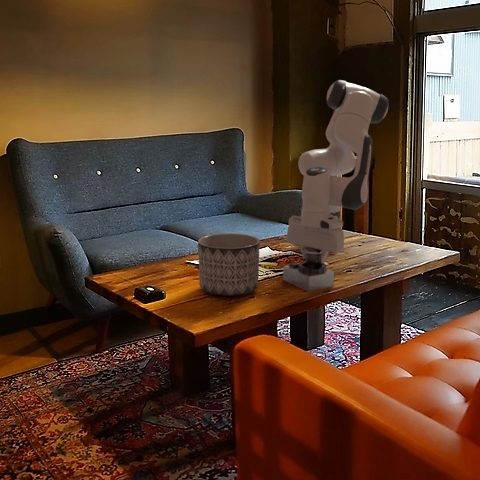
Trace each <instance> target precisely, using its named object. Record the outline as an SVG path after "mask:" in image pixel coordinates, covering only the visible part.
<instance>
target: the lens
mask: <svg viewBox="0 0 480 480" xmlns="http://www.w3.org/2000/svg"><path fill="white" fill-rule="evenodd" d="M322 255H323V253H322V250H319V249H315V248H312V247H306V259H305V261H306V267H308V268H319V267H321V263H319V257H322Z"/></svg>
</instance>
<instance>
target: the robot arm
mask: <svg viewBox="0 0 480 480" xmlns="http://www.w3.org/2000/svg"><path fill="white" fill-rule="evenodd" d="M326 104H327V106H328V107H329V108H331V109H332V110H333V111H334V112H333V114H332V115H331V119H330V121H329V124H328V125H327V127H326V130H325V136H326V139H327V141H328V142H329V146H328V147H326V148H319V149H315V148H314V149H312V150H311V149H310V150H309V151H305V152H303V153H302V154H301V155H300V156H299V158H298V162H297V163H298V164H297V165H298V170H299V172H300V173H301V175H303V178H302V179H303V180H302V187H301V197H302V205H301V206H302V207H301V215H299V216H298V215H295V214H294V215H292V216H290V217H289V219H288V228H287V233H286V234H287V235H286V241H287V242H288V244H292V245H297V246H299V250H300V252H301V254H302V260H306V247H312V248H315V249H319V250H322V257H319V263H324V264H326V258H327V256H328V255H329V254H330V253H333V254H337V253H340V252H342V251H343V250H344V249H345V247H344V246H345V236H344V235H345V234H344V231H343V229H342V227H343V226H344V221H343V220H342V219H341V216H342V213H341V210H340V208H343V209H349V210H353V211H356V210H358V209H360V208H362V207H364V205H365V204H366V203H367V201H368V198H369V182H370V174H371V173H370V172H371V168H372V160H373V152H374V145H373V144H374V142H373V138H372V136H371V135H369V128H370V124H379V123H380V122H382V120H384V118H385V117H386V115H387V113H388V110H389V104H390V103H389V99H388V97H386V96H385V95H383V94H382V93H380V94H379V93H377V91H374V90H373V89H370V88H367V87H366V86H361V85H358V84H355V83H351V82H347V81H346V80H342V79H338V80H336V81H334V82H333V83H332V84H331V85H330V86H329V88H328V90H327V94H326ZM355 154H356V155H355ZM353 170H354V172H353V175H352V176H349V177H346V176H343V175H345V174H348V173H351V172H352V171H353Z"/></svg>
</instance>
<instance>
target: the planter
mask: <svg viewBox="0 0 480 480" xmlns="http://www.w3.org/2000/svg"><path fill="white" fill-rule="evenodd" d="M260 242H261V240H260V239H259V238H258V237H256V236H254V235H249V234H244V233H235V232H234V233H232V232H231V233H225V232H224V233H214V234H209V235H204V236H202V237H200V238H199V239H198V240H197V249H198V252H197V253H198V254H197V255H198V270H199V273H198V274H199V287H200V289H201V290H202V291H204V292H205V293H208V294H211V295H217V296H222V297H223V296H224V297H236V296H240V295H241V296H242V295H246V294H250V293H252V292H254V291H256V290H257V289H258V288H259V274H260V273H259V271H260V245H261V244H260Z"/></svg>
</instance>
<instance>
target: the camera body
mask: <svg viewBox="0 0 480 480" xmlns="http://www.w3.org/2000/svg"><path fill="white" fill-rule="evenodd" d="M282 278H283V281H285V282H286V283H288V284H291V285H293V286H295V287H297V288H300V289H302V290H304V291H305V292H307V293H310V292H316V291H319V290H325V289H328V288H329V289H330V288H333V287H334V284H335V283H334V282H335V271H334V270H330V269H328V268H327V264H326V263H321V267H319V268H308V267H306V260H305V261H301V262H295V261H294V262H288V264H287V265H283V277H282Z"/></svg>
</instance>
